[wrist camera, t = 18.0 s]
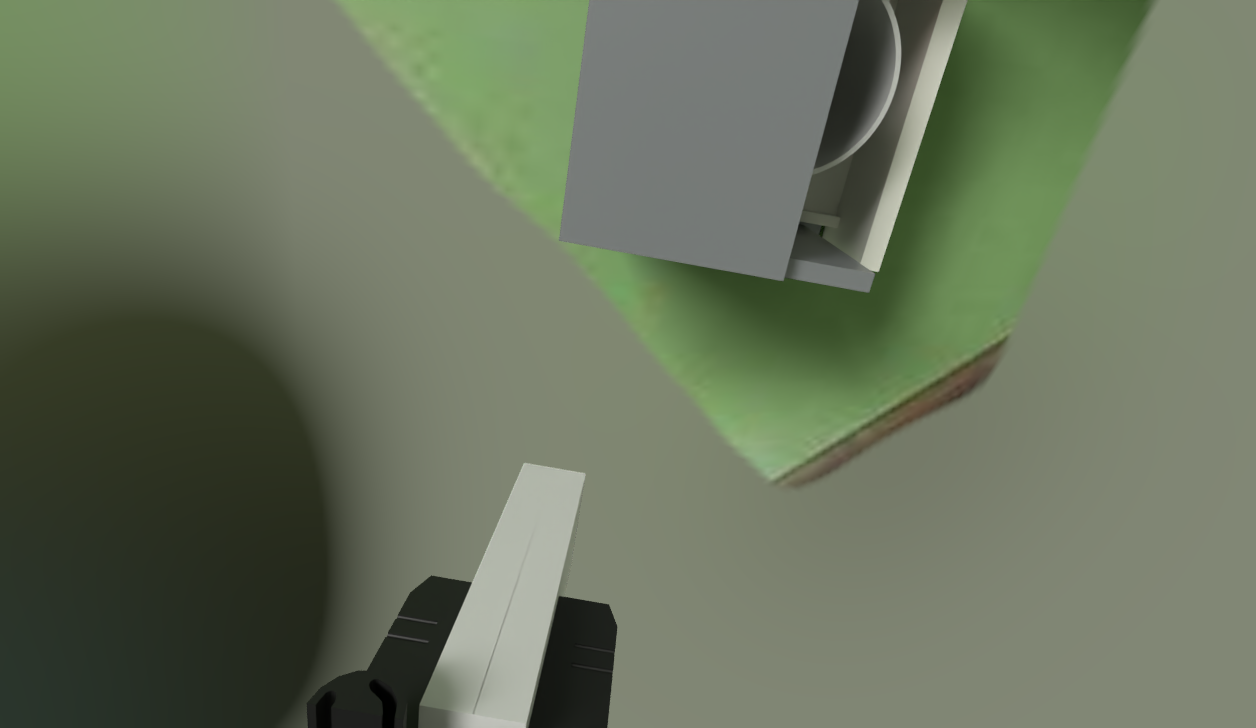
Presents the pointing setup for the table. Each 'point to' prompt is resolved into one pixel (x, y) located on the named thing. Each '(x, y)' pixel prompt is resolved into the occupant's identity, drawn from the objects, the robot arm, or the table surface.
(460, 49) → the table surface
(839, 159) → the cup
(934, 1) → the white drawer
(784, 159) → the housing
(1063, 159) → the table surface
